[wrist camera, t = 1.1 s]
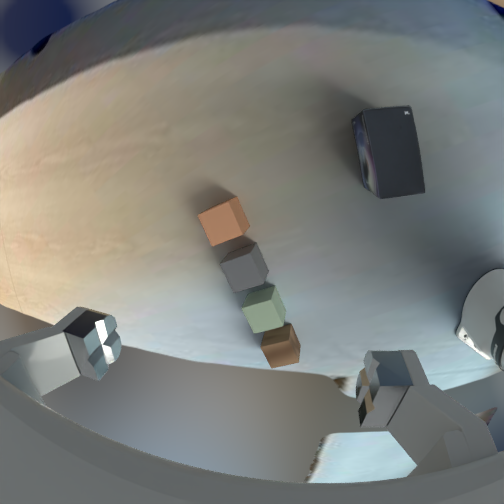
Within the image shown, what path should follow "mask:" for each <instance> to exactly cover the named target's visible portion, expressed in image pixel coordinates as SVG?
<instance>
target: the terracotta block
mask: <svg viewBox="0 0 504 504" xmlns="http://www.w3.org/2000/svg"><path fill="white" fill-rule="evenodd" d="M198 217H199V220H200V222H201V224H202V226H203V228H204V230H205V233H206V235H207V237H208V239H209V241H210V243H211V245H212V246H215V245H218V244H220V243H223V242H225V241H228V240H231V239H233V238H236V237H238V236H241V235H243V234H244V233H245V232H246V230H247V229H248V228H249V227H250V225H249V223H248V221H247V218H246V216H245V214H244V212H243V209H242V207H241V205H240V202H239V200H238V198H237V197H235V198H232V199H230V200H228V201H225V202H223V203H221V204H218V205H216V206H214V207H212V208H209V209H208V210H206V211H204V212H202V213H201V214H199V215H198Z"/></svg>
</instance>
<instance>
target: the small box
mask: <svg viewBox="0 0 504 504" xmlns="http://www.w3.org/2000/svg"><path fill="white" fill-rule="evenodd" d="M352 126H353V130H354V135H355V140H356V145H357V150H358V155H359V161H360V166H361V172H362V178H363V184H364V188H366V189H367V190H369V191H370V192H372V193H373V194H374V195H376V196H377V197H378V198H380V199H384V198H392V197H400V196H407V195H414V194H422V193H425V185H424V177H423V169H422V162H421V155H420V149H419V143H418V138H417V132H416V127H415V122H414V118H413V114H412V109H411V106H409V105H407V106H394V107H383V108H372V109H364V110H363V111H362V112H360V113H359V114H358V115H357V116H356V117H355V118H353V119H352Z"/></svg>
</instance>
